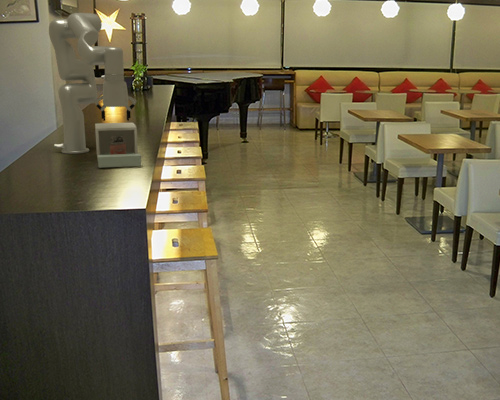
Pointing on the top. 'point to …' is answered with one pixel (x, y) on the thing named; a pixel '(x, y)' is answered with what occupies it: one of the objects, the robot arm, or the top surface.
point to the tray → (119, 160)
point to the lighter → (117, 145)
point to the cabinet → (112, 130)
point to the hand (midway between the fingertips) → (116, 120)
